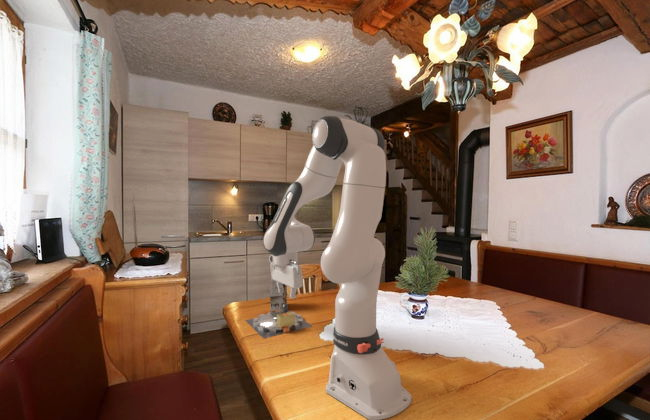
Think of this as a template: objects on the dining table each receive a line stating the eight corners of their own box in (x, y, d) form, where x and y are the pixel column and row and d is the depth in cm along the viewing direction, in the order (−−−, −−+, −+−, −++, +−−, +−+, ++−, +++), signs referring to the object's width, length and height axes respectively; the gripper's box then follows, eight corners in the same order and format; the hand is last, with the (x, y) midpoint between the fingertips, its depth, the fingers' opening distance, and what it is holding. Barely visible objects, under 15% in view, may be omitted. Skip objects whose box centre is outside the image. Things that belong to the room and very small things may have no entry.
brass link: (294, 324, 113) (294, 314, 113) (279, 327, 110) (280, 316, 110) (290, 322, 116) (291, 311, 116) (276, 325, 112) (276, 314, 112)
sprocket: (310, 317, 125) (310, 304, 124) (289, 336, 106) (289, 321, 106) (269, 311, 131) (269, 299, 131) (242, 329, 113) (242, 314, 113)
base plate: (312, 328, 116) (312, 326, 116) (263, 341, 105) (263, 338, 105) (289, 312, 133) (289, 310, 133) (245, 322, 122) (245, 320, 122)
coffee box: (284, 312, 133) (284, 276, 132) (269, 312, 133) (269, 276, 133) (287, 306, 142) (287, 272, 142) (273, 305, 142) (273, 271, 142)
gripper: (306, 260, 105) (307, 300, 105) (281, 254, 122) (282, 288, 122) (290, 263, 102) (291, 303, 102) (267, 256, 119) (268, 291, 119)
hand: (286, 295), depth 112 cm, fingers open, 8 cm apart
